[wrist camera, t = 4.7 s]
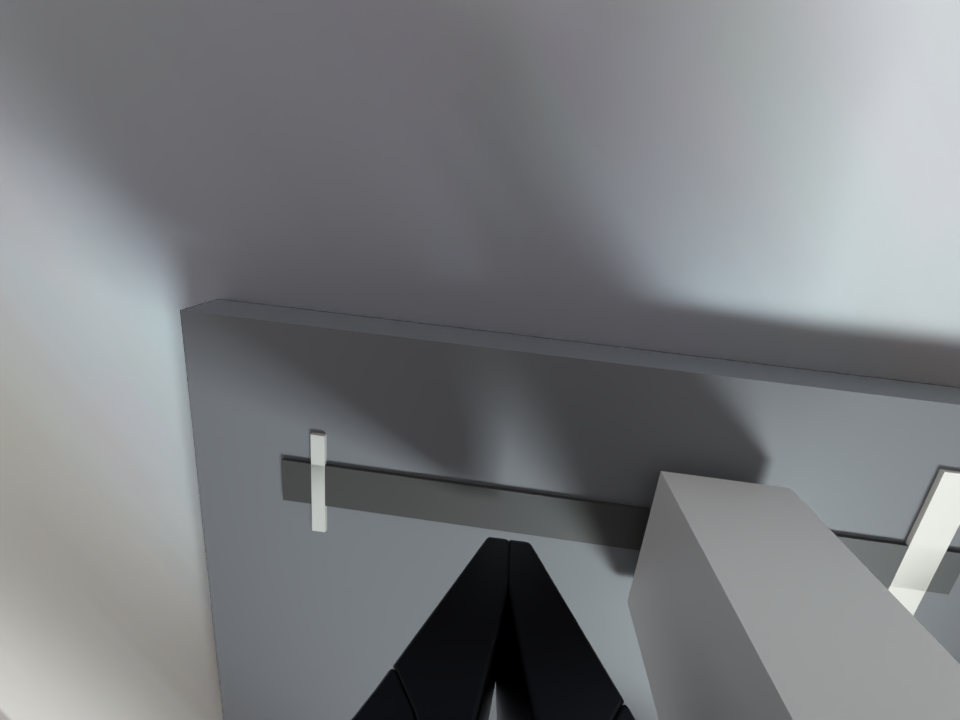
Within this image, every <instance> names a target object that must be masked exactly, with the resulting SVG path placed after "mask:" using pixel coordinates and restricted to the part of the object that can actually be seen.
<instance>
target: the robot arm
mask: <svg viewBox="0 0 960 720" xmlns="http://www.w3.org/2000/svg"><path fill="white" fill-rule="evenodd" d="M495 682H496V714H497V720H635V718H634V716H633V714H632V713H631V711H630V709H629V708H628V706H627V705H624V700H623V698H622V696H621V695H620V693H619V691H618V690H617V688H616V686H615V684H614V683H613V681H612V679H611V678H610V676H609V674H608V673H607V671H606V669H605V668H604V666H603V664H602V663H601V661H600V659H599V658H598V656H597V654H596V653H595V651H594V649H593V648H592V646H591V644H590V642H589V641H588V639H587V637H586V636H585V634H584V632H583V631H582V629H581V627H580V626H579V624H578V622H577V621H576V619H575V617H574V616H573V614H572V612H571V611H570V609H569V607H568V605H567V604H566V602H565V600H564V599H563V597H562V595H561V594H560V592H559V590H558V589H557V587H556V585H555V584H554V582H553V580H552V579H551V577H550V575H549V574H548V572H547V570H546V568H545V567H544V565H543V563H542V562H541V560H540V558H539V557H538V555H537V553H536V552H535V550H534V548H533V547H532V545H531V544H530V543H529V542H524V541H517V540H509V541H508V540H507V539H502V538H495V537H488V538H487V539H486V540H485V541H484V543H483V544H482V545H481V547H480V548H479V549H478V551H477V552H476V554H475V555H474V556H473V558H472V559H471V560H470V562H469V563H468V564H467V566H466V567H465V569H464V570H463V571H462V573H461V574H460V575H459V577H458V578H457V579H456V581H455V582H454V583H453V585H452V586H451V588H450V589H449V590H448V592H447V593H446V594H445V596H444V597H443V598H442V600H441V601H440V602H439V604H438V605H437V607H436V608H435V609H434V611H433V612H432V613H431V615H430V616H429V617H428V619H427V620H426V621H425V623H424V624H423V626H422V627H421V628H420V630H419V631H418V632H417V634H416V635H415V636H414V638H413V639H412V640H411V642H410V643H409V645H408V646H407V647H406V649H405V650H404V651H403V653H402V654H401V655H400V657H399V658H398V659H397V661H396V662H395V664H394V665H393V669H390V670H389V671H388V673H387V674H386V675H385V677H384V678H383V679H382V681H381V682H380V684H379V685H378V686H377V688H376V689H375V690H374V691H373V693H372V694H371V695H370V697H369V698H368V699H367V700H366V702H365V703H364V704H363V705H362V707H361V708H360V709H359V711H358V712H357V713H356V714H355V716H354V717H353V718H352V719H351V720H489V715H490V710H491V704H492V699H493V694H494V689H495Z"/></svg>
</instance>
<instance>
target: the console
mask: <svg viewBox="0 0 960 720" xmlns="http://www.w3.org/2000/svg"><path fill="white" fill-rule="evenodd" d="M180 314H181V324H182V333H183V343H184V352H185V362H186V371H187V380H188V390H189V399H190V409H191V418H192V428H193V437H194V447H195V456H196V466H197V475H198V484H199V494H200V503H201V513H202V522H203V532H204V541H205V551H206V560H207V569H208V579H209V588H210V598H211V607H212V617H213V626H214V636H215V645H216V654H217V664H218V673H219V683H220V692H221V702H222V711H223V720H351V719H352V718H353V717H354V716H355V714H356V713H357V712H358V711H359V709H360V708H361V707H362V705H363V704H364V703H365V702H366V700H367V699H368V698H369V697H370V695H371V694H372V693H373V691H374V690H375V689H376V688H377V686H378V685H379V684H380V682H381V681H382V679H383V678H384V677H385V675H386V674H387V673H388V671H389V670H390V669H393V665H394V664H395V662H396V661H397V659H398V658H399V657H400V655H401V654H402V653H403V651H404V650H405V649H406V647H407V646H408V645H409V643H410V642H411V640H412V639H413V638H414V636H415V635H416V634H417V632H418V631H419V630H420V628H421V627H422V626H423V624H424V623H425V621H426V620H427V619H428V617H429V616H430V615H431V613H432V612H433V611H434V609H435V608H436V607H437V605H438V604H439V602H440V601H441V600H442V598H443V597H444V596H445V594H446V593H447V592H448V590H449V589H450V588H451V586H452V585H453V583H454V582H455V581H456V579H457V578H458V577H459V575H460V574H461V573H462V571H463V570H464V569H465V567H466V566H467V564H468V563H469V562H470V560H471V559H472V558H473V556H474V555H475V554H476V552H477V551H478V549H479V548H480V547H481V545H482V544H483V543H484V541H485V540H486V539H487V538H488V537H495V538H502V539H507V540H508V541H509V540H517V541H524V542H529V543H530V544H531V545H532V547H533V548H534V550H535V552H536V553H537V555H538V557H539V558H540V560H541V562H542V563H543V565H544V567H545V568H546V570H547V572H548V574H549V575H550V577H551V579H552V580H553V582H554V584H555V585H556V587H557V589H558V590H559V592H560V594H561V595H562V597H563V599H564V600H565V602H566V604H567V605H568V607H569V609H570V611H571V612H572V614H573V616H574V617H575V619H576V621H577V622H578V624H579V626H580V627H581V629H582V631H583V632H584V634H585V636H586V637H587V639H588V641H589V642H590V644H591V646H592V648H593V649H594V651H595V653H596V654H597V656H598V658H599V659H600V661H601V663H602V664H603V666H604V668H605V669H606V671H607V673H608V674H609V676H610V678H611V679H612V681H613V683H614V684H615V686H616V688H617V690H618V691H619V693H620V695H621V696H622V698H623V700H624V705H627V706H628V708H629V709H630V711H631V713H632V714H633V716H634V718H635V720H659V719H658V715H657V711H656V708H655V704H654V700H653V696H652V693H651V689H650V685H649V682H648V678H647V674H646V670H645V667H644V663H643V659H642V655H641V652H640V648H639V644H638V640H637V637H636V633H635V629H634V625H633V622H632V618H631V614H630V610H629V607H628V603H627V601H628V597H629V593H630V589H631V585H632V581H633V578H634V574H635V570H636V566H637V562H638V558H639V554H640V550H641V546H642V542H643V538H644V534H645V531H646V527H647V523H648V519H649V515H650V511H651V507H652V503H653V499H654V495H655V491H656V488H657V484H658V480H659V476H660V472H661V471H665V472H673V473H680V474H688V475H695V476H703V477H710V478H718V479H725V480H733V481H740V482H748V483H755V484H763V485H770V486H778V487H785V488H790V489H791V490H792V491H793V492H794V493H795V494H796V495H797V496H798V497H799V498H800V499H801V500H802V501H803V502H804V503H805V504H806V505H807V506H808V507H809V508H810V509H811V510H812V511H813V512H814V513H815V515H816V516H817V517H818V518H819V519H820V520H821V521H822V522H823V523H824V524H825V525H826V526H827V527H828V528H829V529H830V530H831V531H832V532H833V533H834V534H835V535H836V536H837V537H838V538H839V539H840V540H841V541H842V543H843V544H844V545H845V546H846V547H847V548H848V549H849V550H850V551H851V552H852V553H853V554H854V555H855V556H856V557H857V558H858V559H859V560H860V561H861V562H862V563H863V564H864V565H865V566H866V567H867V568H868V569H869V570H870V572H871V573H872V574H873V575H874V576H875V577H876V578H877V579H878V580H879V581H880V582H881V583H882V584H883V585H884V586H885V587H886V588H887V589H888V590H889V591H890V592H891V593H892V594H893V595H894V596H895V597H896V598H897V600H898V601H899V602H900V603H901V604H902V605H903V606H904V607H905V608H906V609H907V610H908V611H909V612H910V613H911V614H912V615H913V616H914V617H915V618H916V619H917V620H918V621H919V622H920V623H921V624H922V625H923V626H924V627H925V629H926V630H927V631H928V632H929V633H930V634H931V635H932V636H933V637H934V638H935V639H936V640H937V641H938V642H939V643H940V644H941V645H942V646H943V647H944V648H945V649H946V650H947V651H948V652H949V653H950V654H951V655H952V657H953V658H954V659H955V660H956V661H957V662H958V663H959V664H960V388H956V387H948V386H939V385H931V384H923V383H914V382H906V381H898V380H889V379H881V378H873V377H864V376H856V375H848V374H839V373H831V372H823V371H814V370H806V369H797V368H789V367H781V366H772V365H764V364H756V363H747V362H739V361H731V360H722V359H714V358H706V357H697V356H689V355H680V354H672V353H664V352H655V351H647V350H639V349H630V348H622V347H614V346H605V345H597V344H589V343H580V342H572V341H564V340H555V339H547V338H538V337H530V336H522V335H513V334H505V333H497V332H488V331H480V330H472V329H463V328H455V327H447V326H438V325H430V324H421V323H413V322H405V321H396V320H388V319H380V318H371V317H363V316H355V315H346V314H338V313H330V312H321V311H313V310H305V309H296V308H288V307H279V306H271V305H263V304H254V303H246V302H238V301H229V300H221V299H217V300H214V301H210V302H207V303H203V304H200V305H196V306H193V307H189V308H186V309H182V310H180ZM489 720H497V714H496V682H495V689H494V694H493V699H492V704H491V710H490V715H489Z"/></svg>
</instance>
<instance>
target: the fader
mask: <svg viewBox="0 0 960 720" xmlns="http://www.w3.org/2000/svg"><path fill="white" fill-rule="evenodd" d="M627 603H628V607H629V610H630V614H631V618H632V622H633V625H634V629H635V633H636V637H637V640H638V644H639V648H640V652H641V655H642V659H643V663H644V667H645V670H646V674H647V678H648V682H649V685H650V689H651V693H652V696H653V700H654V704H655V708H656V711H657V715H658V719H659V720H960V664H959V663H958V662H957V661H956V660H955V659H954V658H953V657H952V655H951V654H950V653H949V652H948V651H947V650H946V649H945V648H944V647H943V646H942V645H941V644H940V643H939V642H938V641H937V640H936V639H935V638H934V637H933V636H932V635H931V634H930V633H929V632H928V631H927V630H926V629H925V627H924V626H923V625H922V624H921V623H920V622H919V621H918V620H917V619H916V618H915V617H914V616H913V615H912V614H911V613H910V612H909V611H908V610H907V609H906V608H905V607H904V606H903V605H902V604H901V603H900V602H899V601H898V600H897V598H896V597H895V596H894V595H893V594H892V593H891V592H890V591H889V590H888V589H887V588H886V587H885V586H884V585H883V584H882V583H881V582H880V581H879V580H878V579H877V578H876V577H875V576H874V575H873V574H872V573H871V572H870V570H869V569H868V568H867V567H866V566H865V565H864V564H863V563H862V562H861V561H860V560H859V559H858V558H857V557H856V556H855V555H854V554H853V553H852V552H851V551H850V550H849V549H848V548H847V547H846V546H845V545H844V544H843V543H842V541H841V540H840V539H839V538H838V537H837V536H836V535H835V534H834V533H833V532H832V531H831V530H830V529H829V528H828V527H827V526H826V525H825V524H824V523H823V522H822V521H821V520H820V519H819V518H818V517H817V516H816V515H815V513H814V512H813V511H812V510H811V509H810V508H809V507H808V506H807V505H806V504H805V503H804V502H803V501H802V500H801V499H800V498H799V497H798V496H797V495H796V494H795V493H794V492H793V491H792V490H791V489H790V488H785V487H778V486H770V485H763V484H755V483H748V482H740V481H733V480H725V479H718V478H710V477H703V476H695V475H688V474H680V473H673V472H665V471H661V472H660V476H659V480H658V484H657V488H656V491H655V495H654V499H653V503H652V507H651V511H650V515H649V519H648V523H647V527H646V531H645V534H644V538H643V542H642V546H641V550H640V554H639V558H638V562H637V566H636V570H635V574H634V578H633V581H632V585H631V589H630V593H629V597H628V601H627Z"/></svg>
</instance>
